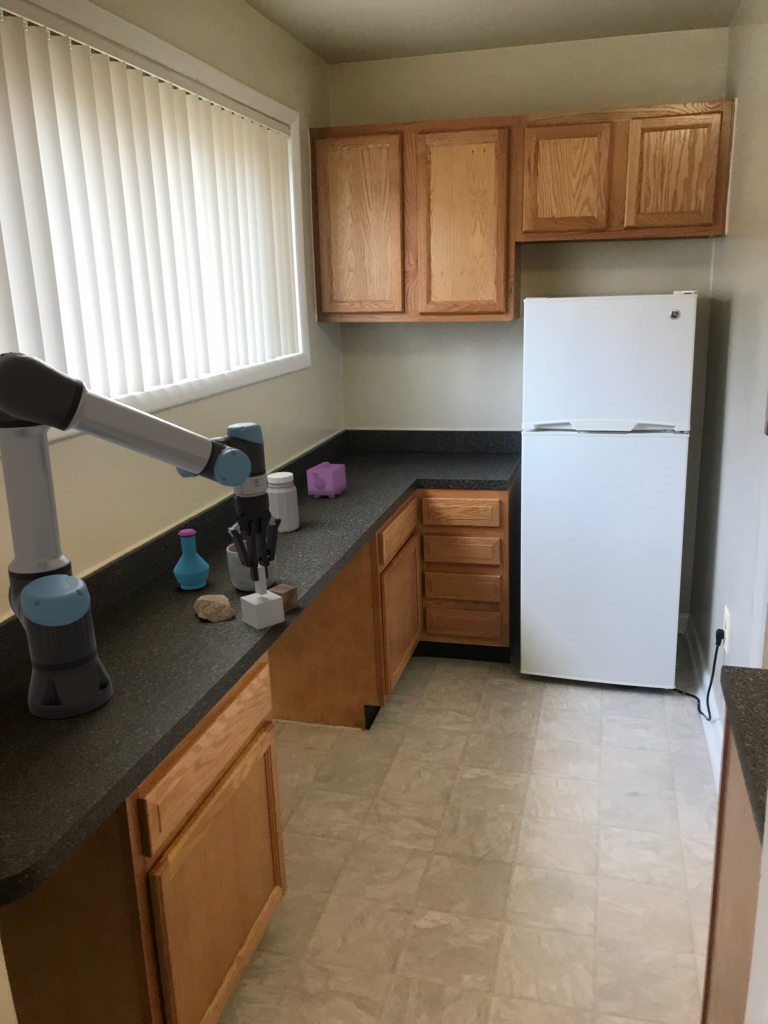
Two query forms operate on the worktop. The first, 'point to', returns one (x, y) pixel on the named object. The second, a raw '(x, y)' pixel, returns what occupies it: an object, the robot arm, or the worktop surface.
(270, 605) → the block
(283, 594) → the walnut block
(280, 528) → the jar
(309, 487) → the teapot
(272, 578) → the planter
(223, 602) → the stone
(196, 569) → the perfume bottle
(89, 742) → the worktop surface
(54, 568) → the robot arm
